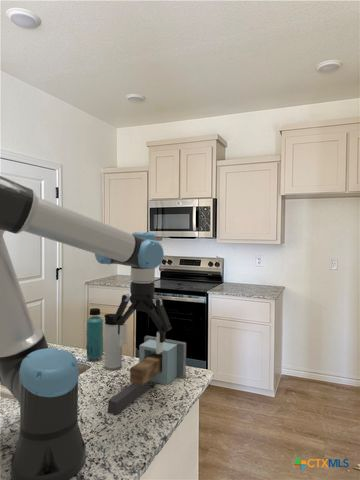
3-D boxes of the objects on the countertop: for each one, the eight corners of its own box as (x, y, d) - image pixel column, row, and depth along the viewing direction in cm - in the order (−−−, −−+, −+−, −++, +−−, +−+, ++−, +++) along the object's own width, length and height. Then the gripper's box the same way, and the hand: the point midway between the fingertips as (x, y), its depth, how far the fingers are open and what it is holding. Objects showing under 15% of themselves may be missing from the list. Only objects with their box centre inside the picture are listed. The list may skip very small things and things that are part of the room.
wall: (183, 378, 115) (183, 344, 114) (143, 369, 122) (144, 337, 122) (185, 376, 117) (186, 342, 116) (146, 367, 124) (147, 335, 123)
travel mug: (100, 367, 123) (100, 313, 123) (115, 362, 128) (116, 310, 127) (109, 372, 119) (109, 317, 118) (124, 367, 123) (125, 314, 122)
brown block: (142, 385, 102) (142, 370, 102) (130, 382, 104) (130, 367, 104) (164, 368, 114) (164, 355, 114) (153, 366, 116) (153, 353, 116)
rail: (116, 415, 92) (116, 402, 92) (108, 412, 93) (108, 400, 93) (148, 389, 107) (148, 378, 107) (141, 387, 108) (141, 376, 108)
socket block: (167, 385, 110) (167, 350, 109) (138, 378, 114) (139, 345, 114) (176, 376, 116) (177, 344, 116) (149, 370, 121) (150, 339, 120)
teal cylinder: (105, 356, 134) (106, 307, 133) (99, 363, 127) (100, 311, 126) (89, 355, 134) (90, 306, 134) (83, 362, 128) (83, 310, 127)
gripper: (183, 283, 102) (181, 352, 103) (117, 276, 113) (115, 338, 114) (172, 286, 96) (170, 360, 96) (103, 279, 107) (101, 345, 107)
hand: (140, 348), depth 105 cm, fingers open, 13 cm apart
